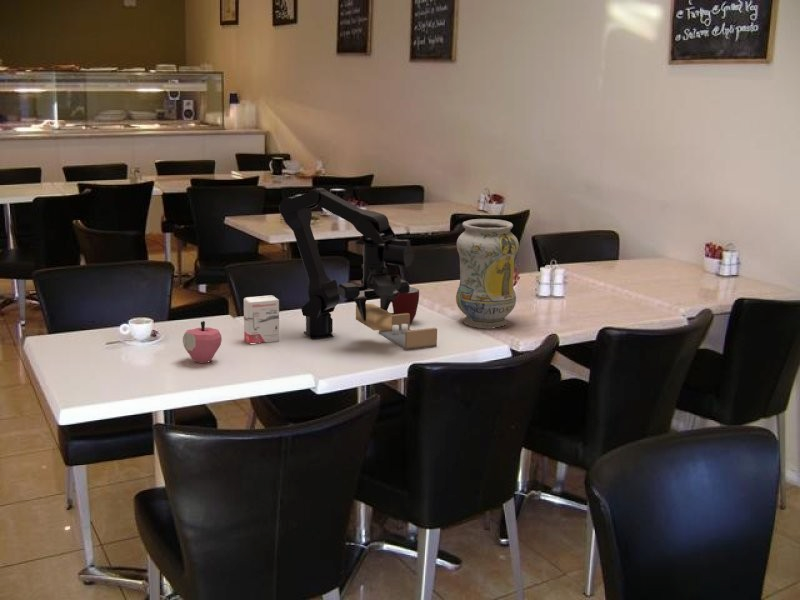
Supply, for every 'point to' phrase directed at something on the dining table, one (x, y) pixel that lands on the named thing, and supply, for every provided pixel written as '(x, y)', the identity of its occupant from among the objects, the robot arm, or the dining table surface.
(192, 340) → the apple
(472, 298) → the vase
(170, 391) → the dining table surface
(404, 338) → the peg stand
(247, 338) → the ink box
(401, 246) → the robot arm
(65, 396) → the dining table surface
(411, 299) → the mug
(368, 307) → the tan wooden block
